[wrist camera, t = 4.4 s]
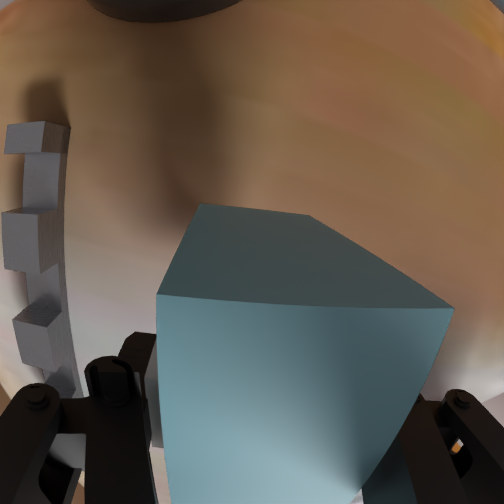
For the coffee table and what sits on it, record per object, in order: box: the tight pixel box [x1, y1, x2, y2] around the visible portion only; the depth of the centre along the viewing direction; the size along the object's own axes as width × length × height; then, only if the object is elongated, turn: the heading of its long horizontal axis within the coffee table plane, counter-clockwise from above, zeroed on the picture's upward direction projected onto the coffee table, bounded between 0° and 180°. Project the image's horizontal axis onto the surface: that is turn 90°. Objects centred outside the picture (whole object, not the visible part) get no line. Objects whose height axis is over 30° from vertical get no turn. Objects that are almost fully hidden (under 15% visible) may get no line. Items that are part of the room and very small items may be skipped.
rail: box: [1, 121, 85, 471], centre depth 17 cm, size 28×3×4 cm, turn 173°
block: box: [156, 203, 455, 504], centre depth 9 cm, size 9×4×9 cm, turn 173°
